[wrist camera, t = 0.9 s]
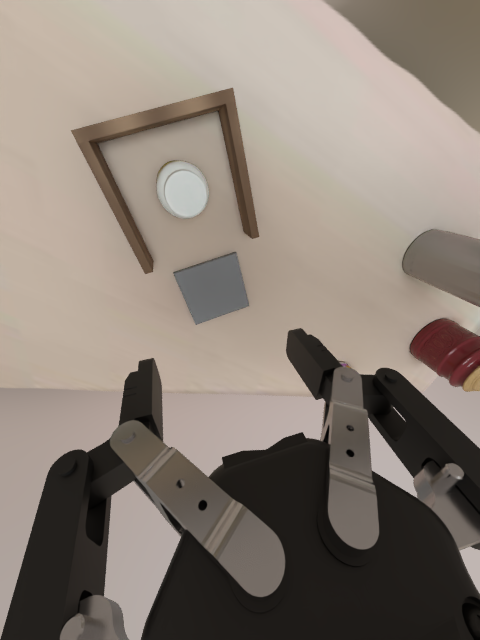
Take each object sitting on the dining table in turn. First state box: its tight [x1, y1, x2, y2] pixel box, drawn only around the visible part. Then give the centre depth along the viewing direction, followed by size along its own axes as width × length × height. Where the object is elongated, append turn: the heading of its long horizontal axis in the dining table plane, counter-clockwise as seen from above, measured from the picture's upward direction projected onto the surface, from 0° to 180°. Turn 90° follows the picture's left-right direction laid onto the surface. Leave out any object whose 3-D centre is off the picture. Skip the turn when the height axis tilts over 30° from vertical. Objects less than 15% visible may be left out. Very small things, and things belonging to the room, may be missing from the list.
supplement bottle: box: [156, 161, 209, 219], centre depth 26 cm, size 5×5×10 cm
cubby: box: [71, 88, 259, 274], centre depth 29 cm, size 16×15×4 cm
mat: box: [173, 252, 249, 325], centre depth 39 cm, size 10×10×1 cm
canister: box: [410, 319, 480, 392], centre depth 58 cm, size 13×13×18 cm
